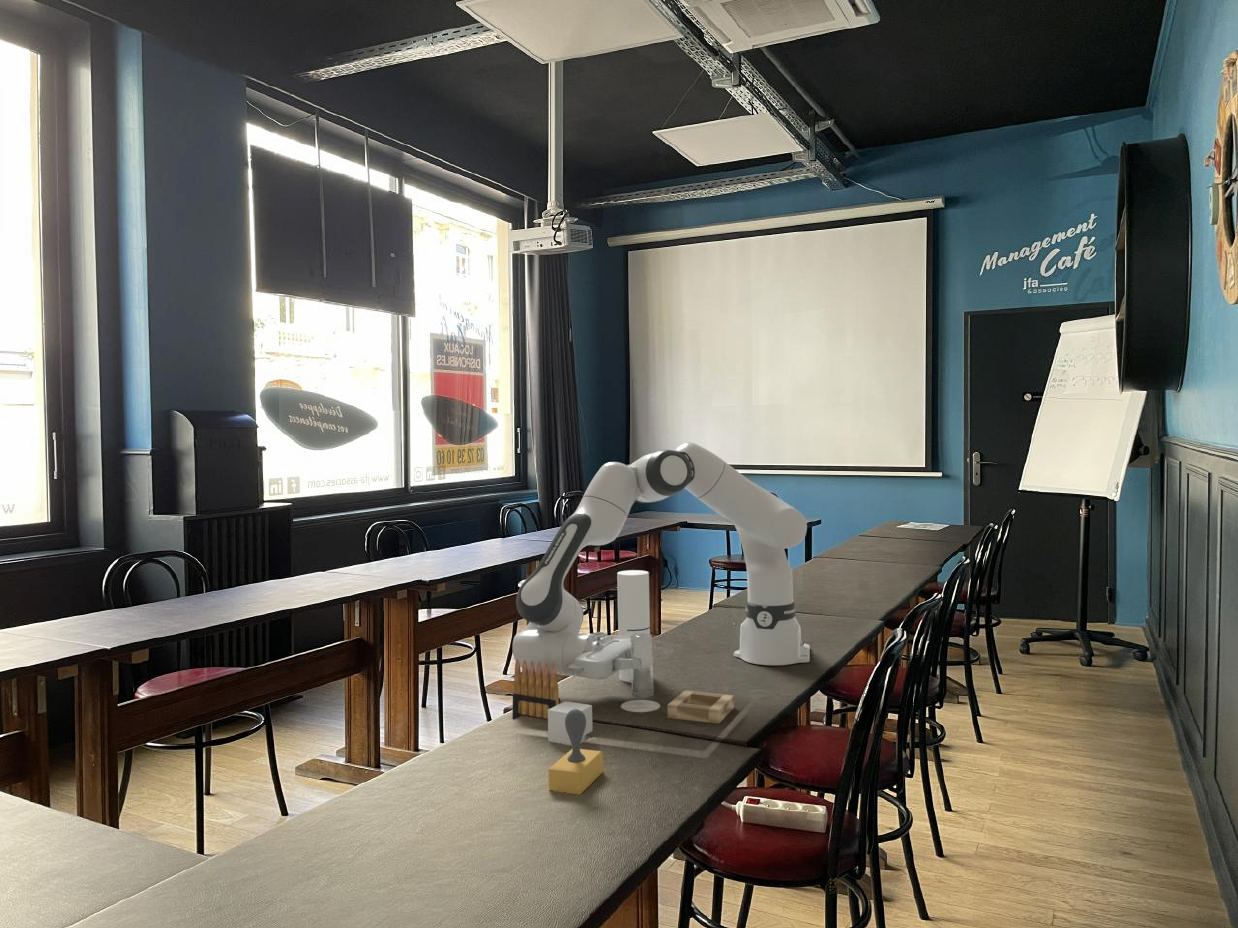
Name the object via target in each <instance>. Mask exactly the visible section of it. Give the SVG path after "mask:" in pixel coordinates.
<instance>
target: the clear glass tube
mask: <svg viewBox="0 0 1238 928" xmlns="http://www.w3.org/2000/svg"><path fill="white" fill-rule="evenodd" d="M630 649H631V659H633V658H637V659H638V658H639V659H641V660H642V666H641V667H640V668H639V669H631V680H632V682H631V695H632V696H633V697H636V698H649V697H651V696H654V669H653V668H654V663H653V661H654V660H653V636H652V634H651V633H650V634H646V633H638V634H632V635H630Z"/></svg>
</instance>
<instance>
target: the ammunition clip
mask: <svg viewBox="0 0 1238 928" xmlns="http://www.w3.org/2000/svg"><path fill="white" fill-rule="evenodd" d="M557 674H558V673H557V671H556V667H555V664H553V665H552V669H551V674H550V673H549V667H548V664H547V663H545V666H544V673H542V667H541V664H540V662H538V664H537V670H536V672H535V667H534V663H533V661H531V663H530V668H529V671H528V668H527V663H526V661H525V660H524V661H523V665H522V668H521V667H520V663H519V660H518V659H517V660H516V661H515V662H514V678H513V693H512V719H513V720H516V719H518V718H520V717H522V716H525V717H530V718H535V719H542V720H545V721H546V720H547V721H548V710H549V709H551V708H552V707H554V706H556V705H558V704H560V703H561V698H560V696H559V684H558V675H557Z"/></svg>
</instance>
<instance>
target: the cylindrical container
mask: <svg viewBox="0 0 1238 928" xmlns="http://www.w3.org/2000/svg"><path fill="white" fill-rule="evenodd" d="M616 574H617V576H616V578H617V622H618V623H617V625H618V628H617V629H618V634H617V635H618V636H626V637H630V635H632V634H638V633H646V634H651V621H650V620H651V619H650V618H651V617H650V612H651V611H650V572H649V571H646V570H640V569H639V570H638V569H637V570H635V569H631V570H630V569H629V570H621V571H618V572H617V573H616ZM618 672H619V673H618V677H619V680H621V681H622V682H626V683H632V680H631V669H625V670H618Z"/></svg>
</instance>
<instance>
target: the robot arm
mask: <svg viewBox="0 0 1238 928" xmlns="http://www.w3.org/2000/svg"><path fill="white" fill-rule="evenodd" d="M684 489H685V490H686V491H688V493H690V494H691V495H692V496H694V497H695V498H696V499H697V500H699V501H700V502H701V503H703V504H704V505H706V506H707V507H708V508H710V509H711V510H712V511H714V512H715V513H716V514H718V515H719V516H721V517H722V518H725V520H727V521H729V522H731V523H733V524H734V527H735V529H736V532H737V533H738V535H739V539H740V543H741V547H742V552H743V556H744V557H743V558H744V561H745V562H744V563H745V565H746V566H745V568H746V576H747V577H746V582H747V601H746V602H745V616H746V618H745V620H744V621H743V622H742V623H741V624H740V630H739V649H737V650H735V651H734V652H733V657H735V658H739V659H741V660H743V661H745V662H747V663H750V664H755V665H759V666H760V665H762V666H788V665H793V664H799V663H802V664H803V663H809V662H810V660H811V656H810V654H811V647H810V646H811V645H809V644H807V643H805V641H804V640H802V632H801V631H802V630H801V629H802V628H801V626H800V624H799V621H798V620H797V618H796V615H797V614H796V613H797V612H796V611H797V610H796V609H797V608H796V601H795V599H794V588H793V587H794V583H793V581H794V578H793V577H794V575H793V573H794V572H793V569H792V566H791V565H790V563H789V560H788V558H787V554H786V551H785V549H790V548H795V547H797V546H799V545H800V544H801V543H802V542H803V540H804V539H805V537H806V535H807V530H808V524H807V519H806V518H805V515H803V514H802V512H801V511H800V510H799V509H797V508H795V507H793V506H792V505H790V504H789V503H787V502H785V501H784V500H783V499H781V498H780V497H778V496H776V495H775V494H773V492H772V493H771V492H770V491H769V490H767V489H765V488H763V487H761V486H760V485H758V484H757V483H755V482H753V481H752V480H750V479H748V478H747V477H746V476H744V475H743V474H742V473H740V472H739V471H738V470H736V469H735V468H734V467H733V466H732V465H730V464H729V463H727V462H726V461H725V460H723V459H722V458H720V457H719V456H717V454H715V453H714V452H711V451H710V450H708V449H707V448H705V447H703V446H701V445H699V444H696V443H695V442H689V441H688V442H685V443H682V444H680V445H679V446H677V447H676V448H675V449H673V450H672V449H662V450H661V449H660V450H657V451H656V452H651V453H648V454H646V455H643V456H641V457H640V458H639V459H636V460H634V461H632V462H630V463H629V464H625V463H622V462H620V461H619V462H618V461H609V462H606V463H603V465H601V467H599V470H598V471H597V472H596V474H594V476H593V478H592V479H591V481H590V483H589V484H588V487H587V489H586V490H585V492H584V494H583V496H582V498H581V499H580V500H581V501H580V502H579V504H578V506H577V508H576V510H575V511H574V512H573V514H571V515H569V516H568V517H567V518H566V519H565V520H564V522H563V523H562V525H561V526H560V528H559V530H558V531H557V532H556V534H555V536H554V537H553V539H552V541H551V543H550V545H549V546H548V548H547V549H546V551H545V553H544V555H543V557H542V559H541V560H540V562H539V563H538V565H537V566H536V568H534V571H532V573H531V574H530V575H529V576H528V577H527V578H526V579H525V580H524V581H523V583H522V584H521V585H520V587H519V589H518V591H517V593H516V600H515V605H516V610H517V612H518V614H519V615H520V617H521V618H522V619H524V620H525V621H527V622H529V623H528V624H527V625H526V626H525V627H524V628H523V629H522V630H521V631H519V632H518V633H516V634H515V635H514V637H513V640H512V644H511V646H512V647H511V648H512V649H511V651H512V655H513V659H514V661H515V662H516V660H517V659H518V660H519V663H520V669H522V665H523V661H524V660H525V661H526V663H527V668H528V672H529V668H530V663H531V661H533V663H534V667H535V673H536V670H537V664H538V662H540V664H541V667H542V674H544V666H545V663H547V664H548V667H549V673H550V675H551V669H552V665H553V664H555V667H556V671H557V674H562V675H565V676H570V677H580V678H587V679H594V680H606V679H609V677H610V676H612V675H614V674H615V673H617V672H619V670H625V669H639V668H640V667H641V666H642V660H641V659H639V658H638V659H637V658H633V659H631V649H630V637H626V636H619V634H616V635H615V634H610V635H608V633H607V632H606V631H597V632H592V633H580V631H581V627H582V624H583V620H584V609H583V606H582V604H581V603H580V602H579V601H578V600H577V598H575V597H574V596H573V595H572V594H571V593H570V592H568V591H567V590H566V589H565V588H564V581H565V579H566V576H567V574H568V573H569V571H570V569H571V567H572V566H573V564H574V562H575V560H576V558H577V557H578V555H579V554H580V552H581V550H582V549H583V548H585V547H587V546H604V545H607V544H609V543H611V542H614V541H615V540H616V538H617V537H618V536H619V535H620V533H621V531H622V530H623V528H624V525H625V524H626V521H627V519H628V516H629V513H630V511H631V509H632V506H633V505H634V503H636V504H641V505H642V504H650V503H655V502H660V501H663V500H665V499H667V498H669V497H671V496H675V495H678V494H679V493H681V492H682V491H683V490H684Z"/></svg>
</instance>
